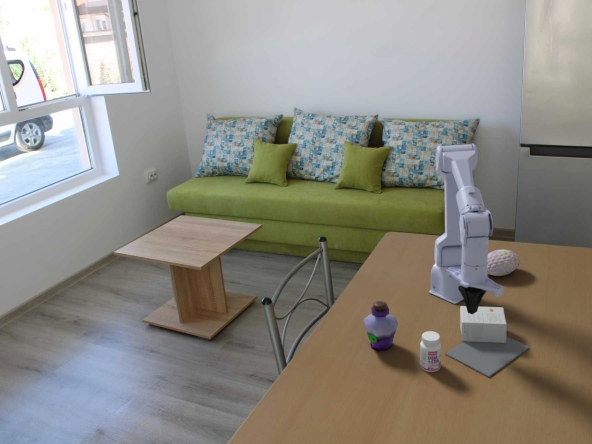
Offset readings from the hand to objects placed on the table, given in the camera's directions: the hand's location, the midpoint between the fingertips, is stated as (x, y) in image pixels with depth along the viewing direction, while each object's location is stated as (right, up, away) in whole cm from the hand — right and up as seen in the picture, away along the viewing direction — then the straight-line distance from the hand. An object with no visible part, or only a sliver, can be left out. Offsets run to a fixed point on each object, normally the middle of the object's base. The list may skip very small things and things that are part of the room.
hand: (472, 311), depth 132 cm
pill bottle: (-11, -12, -3) cm, 17 cm away
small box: (-1, -4, +6) cm, 8 cm away
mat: (+3, -9, 0) cm, 10 cm away
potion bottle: (-21, -9, +6) cm, 24 cm away
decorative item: (+20, +6, +35) cm, 40 cm away
